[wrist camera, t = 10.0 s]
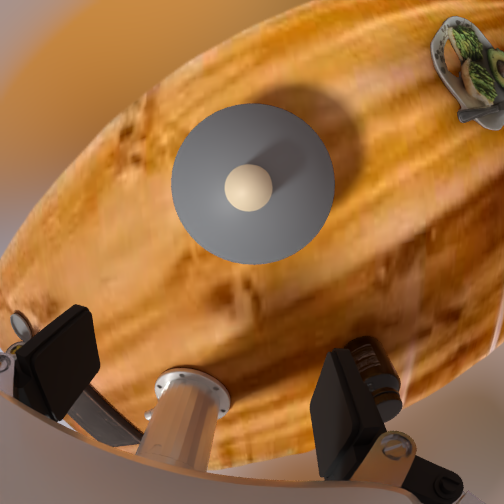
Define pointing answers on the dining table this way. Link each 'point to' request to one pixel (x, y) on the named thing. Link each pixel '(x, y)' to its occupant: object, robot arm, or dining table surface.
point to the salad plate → (472, 72)
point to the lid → (253, 184)
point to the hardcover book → (103, 420)
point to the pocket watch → (19, 333)
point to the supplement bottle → (377, 375)
